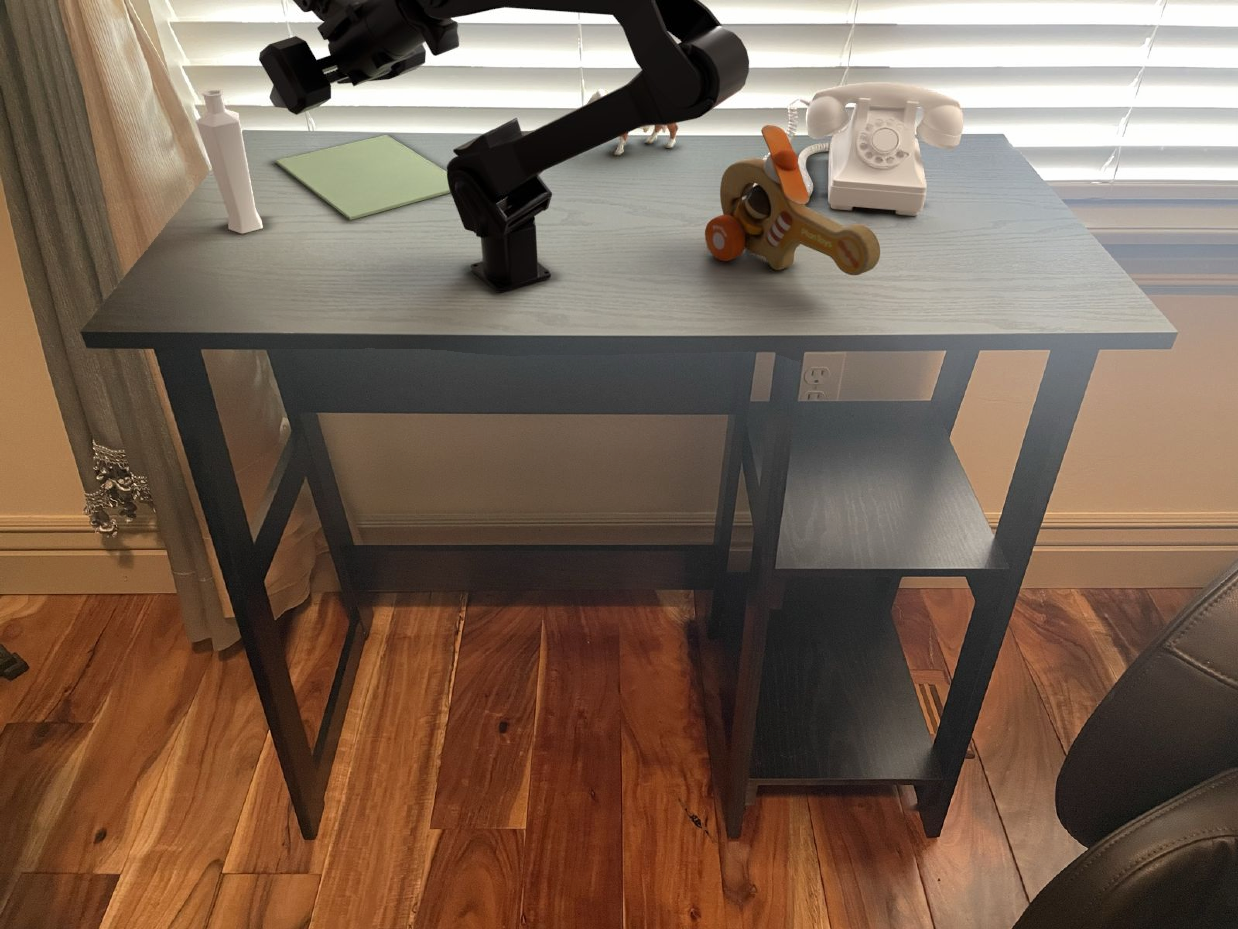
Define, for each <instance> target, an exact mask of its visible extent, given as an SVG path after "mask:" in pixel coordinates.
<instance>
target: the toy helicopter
mask: <svg viewBox="0 0 1238 929" xmlns="http://www.w3.org/2000/svg"><path fill="white" fill-rule="evenodd" d="M760 131H761V135H762V138H763V140H764V142H765V144H766V146H767V148H768V150H769V153H770V155H769V156H768V155H767V156H768V157H767V159H766V161H765V160H762V159H763V158H759V157H747V158H743V159H740V160H738V161H736V162H734V163H732V164H730V165H729V166H728V167H727V168H726V169H725V170H724V172H723V174H722V176H721V181H720V189H719V197H720V207H721V210H722V215H719V216H715V217H714V218H711V219H710V220H709V221H708V223H707V224H706V226H705V230H704V239H705V244H706V246H707V249H708V250H709V252H710V254H711V255H712V256H713V257H714V258H715V259H717V260H718V261H721V262H728V261H732V260H733V259H737V258H738V257H739V256H740V255H742V253H743V252H744V250H747V251H748V252H750V253H752V254H754V255H756V256H759V257H762V258H764V259H765V260H766V261H767V262H768V264H769V266H770V267H771V268H772V269H773V270H775V271H781V270H784V269H786V268H788V267H790V266H792V265H793V263H794V260H795V252H796V249H797V248H798V247H799V246H800V245H802V246H804V247H806V248H809V249H811V250H813V251H816V252H819V253H821V254H823V255H825V256H827V257H830V259H832V260H833V262H834V263H835V265H836V266H837V268H838V269H839V270H840V271H842V272H843V273H845V274H846V275H849V276H860V275H862V274H865V273H867V272H869V271H871V270H873V269H874V268H875V267H876V266H877V265H878V263H879V260H880V257H881V245H880V242H879V240H878V238H877V235H876V234H875V233H874V231H872V229H870V228H869V227H868V226H866V225H864V224H862V223H853V224H850V225H847V226H846V225H843V224H840V223H839V222H837V221H835V220H833V219H831V218H829V217H827V216H825V215H823V214H821V213H820V212H818V211H815V210H813V209H811V208H809V207H807V205H805V204H807V203H808V202H809V201H810V196H809V194H808V191H807V189H806V186H805V183H804V181H803V178H802V174H801V172H800V167H799V164H798V157H799V156H798V155H797V153H796V152H795V150H794V148H793V146H792V144H791V143H790V141H789V139H788V137H789V136H788V135H786V133H787V132H786V131H785V130H784V129H782V127H780V126H777V125H775V124H767V125H764V126H762V128H761V130H760ZM787 136H788V137H787ZM755 183H756V184H758V185H756V186H754V187H753V185H754V184H755ZM744 197H745V198H744ZM743 198H744V199H743Z"/></svg>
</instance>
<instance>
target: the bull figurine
mask: <svg viewBox="0 0 1238 929" xmlns="http://www.w3.org/2000/svg"><path fill="white" fill-rule="evenodd" d="M606 94H608V91H607V90H604V89H602V88H599V89H597V91H596V92H595V93H593V94H592V95H591V97H590V99H589V100H588V101H587V103H586V104H588V103H590V102H592V101H594V100H596V99H598V98H600V97H602V96H604V95H606ZM653 126H654V127H653ZM651 127H653V131H652V133H651V134H650V135H649V136H648V137H647V139H646V140H645V143H646V144H653V142H654V141H657V139H658V135H659V133H660V131H662V133H663V134H666V132H667V131H668V132H669V139H668V141H667V142H666V145H665V148H667V149H671V148H673V147H674V145H675V144H676V136H677V132H678V130H679V126H678V124H677V123H673V124H668V125H647V126H642V127H639V128H638V129H640V130H641V129H642V131H643V133H647V132H648V131H649V129H650V128H651ZM629 133H630V132H628V133H626V134H624V135H621V136H619V137H618V141H619V142H618V144H617V148H616V150H615V151H614V153H613V155H615V156H621V155H622V153H624V150H625V149H624V147H625V146H627V138H628V135H629Z"/></svg>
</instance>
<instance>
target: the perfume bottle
mask: <svg viewBox="0 0 1238 929" xmlns="http://www.w3.org/2000/svg"><path fill="white" fill-rule="evenodd" d="M223 93H224V92H223V89H207V90H205V91H203V92H201V96H203V100H204V103H205V107H206V110H207V112H206V113H205V114H203V115H202V116H200V118H198V119H197V120H196V121H195V123H196V126H197V130H198V132H199V135H200V138H201V140H202V143H203V146H204V149H205V152H206V155H207V158H208V161H209V163H210V166H211V169H212V172H213V175H214V178H215V180H216V183H217V187H218V189H219V192H220V195H221V197H222V200H223V204H224V206H225V209H226V212H227V215H228V230H231V231H233V232H235V233H238V234H240V235H241V234H246V233H250V232H254V231H257V230H261V229H263V228H264V226H263V221H262V218H261V216H260V215H259V212H258V210H257V208H256V203H255V198H254V192H253V186H252V182H251V175H250V171H249V169H250V168H249V164H248V159H247V154H246V147H245V142H244V136H243V131H242V125H241V120H240V115H239V114H240V113H239V112H236V111H233V110H230V109H227V108H226V106H225V102H224V97H223Z"/></svg>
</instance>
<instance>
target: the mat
mask: <svg viewBox="0 0 1238 929" xmlns="http://www.w3.org/2000/svg"><path fill="white" fill-rule="evenodd" d="M275 162H276V164H277V165H278V166H279V167H281V168H282V169H283V170H285V171H286V172H287V173H289V174H290V175H291V176H292V177H294V178H295V179H297V181H299V182H300V183H301V184H303V185H304V186H305V187H307V188H308V189H309V190H311V191H312V192H314V193H315V194H316V195H317V196H318V197H320V198H321V199H322V200H324V201H325V202H326V203H328V204H329V205H330V206H331V207H333V208H334V209H336V210H337V211H338V212H339V213H340V214H342V215H343V216H344V217H345V218H347V219H348V220H350V221H353V220H356V219H360V218H364V217H368V216H371V215H375V214H378V213H382V212H385V211H389V210H392V209H396V208H399V207H403V206H408V205H410V204H415V203H418V202H422V201H425V200H429V199H433V198H436V197H440V196H444V195H447V194H451V192H450V189H449V185H448V180H447V170H444V168H441V167H440V166H438V165H436V164H435V163H434V162H432V161H430V160H428V159H427V158H425V157H423V156H422V155H420V154H418V153H417V152H416V151H413V150H412V149H410V148H409V147H407V146H406V145H404V144H402V143H400V142H399V141H397V140H396V139H394V138H392V137H390V136H389V135H388V134H384V135H380V136H375V137H372V138H367V139H361V140H357V141H353V142H349V143H345V144H340V145H336V146H332V147H327V148H323V149H319V150H315V151H311V152H307V153H302V154H298V155H292V156H289V157H284V158H281V159H277V160H275Z"/></svg>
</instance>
